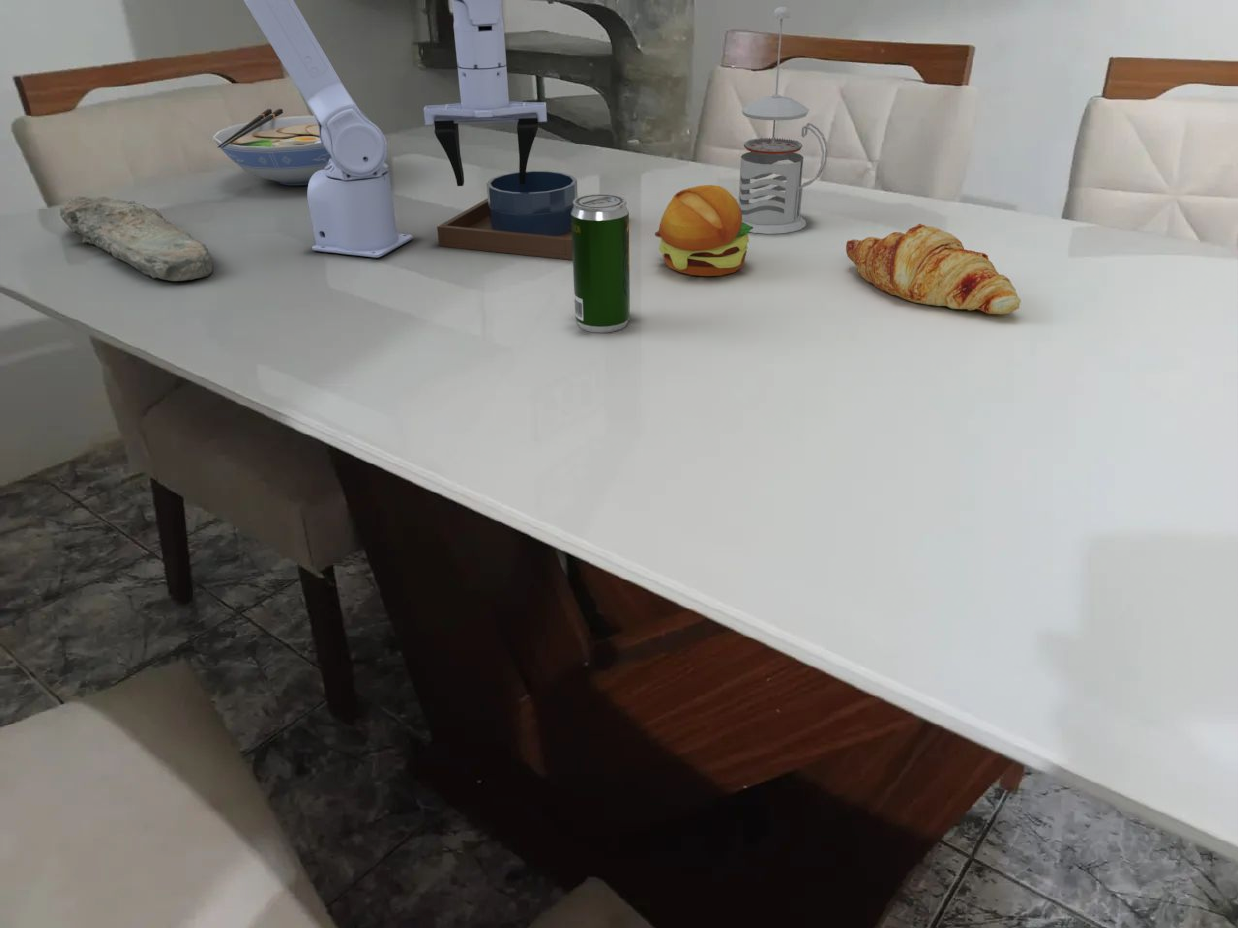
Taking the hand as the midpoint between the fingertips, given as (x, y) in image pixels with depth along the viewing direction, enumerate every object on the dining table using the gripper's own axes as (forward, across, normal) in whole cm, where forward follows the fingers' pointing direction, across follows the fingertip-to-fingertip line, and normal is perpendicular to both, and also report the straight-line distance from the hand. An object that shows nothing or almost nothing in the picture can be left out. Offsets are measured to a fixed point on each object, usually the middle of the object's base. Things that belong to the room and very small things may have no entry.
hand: (491, 183), depth 116 cm
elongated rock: (+6, -44, -3) cm, 44 cm away
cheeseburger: (+6, +24, -17) cm, 30 cm away
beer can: (+6, +12, -33) cm, 35 cm away
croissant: (+6, +46, -28) cm, 54 cm away
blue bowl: (+5, +5, -1) cm, 7 cm away
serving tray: (+6, +5, -2) cm, 8 cm away
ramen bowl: (+6, -31, +29) cm, 43 cm away
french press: (+6, +36, -2) cm, 36 cm away
